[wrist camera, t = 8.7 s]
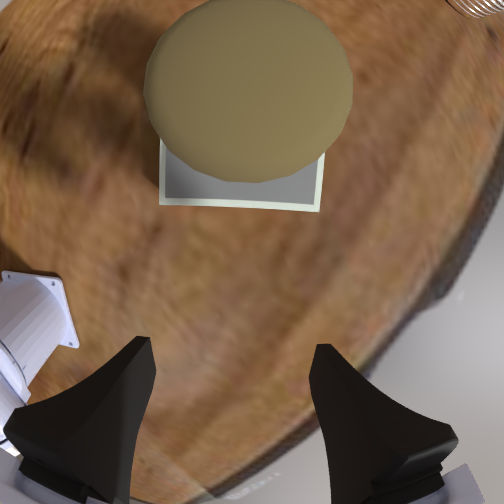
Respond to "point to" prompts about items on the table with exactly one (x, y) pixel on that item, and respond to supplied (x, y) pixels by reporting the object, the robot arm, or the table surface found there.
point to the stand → (238, 187)
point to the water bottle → (477, 7)
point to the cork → (248, 89)
